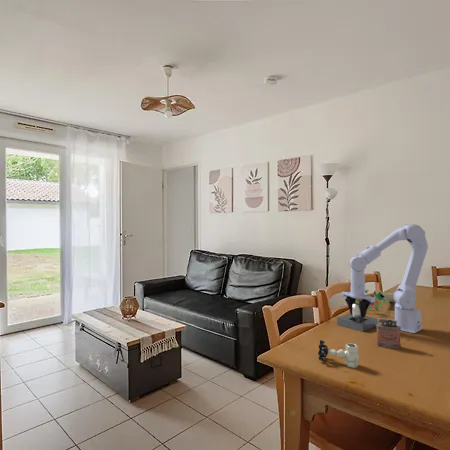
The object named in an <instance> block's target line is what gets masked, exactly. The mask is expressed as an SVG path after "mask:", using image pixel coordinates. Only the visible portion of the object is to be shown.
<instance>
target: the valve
mask: <svg viewBox="0 0 450 450" xmlns="http://www.w3.org/2000/svg"><path fill="white" fill-rule="evenodd" d="M325 343H326V342H325V340H321V339H320V340H319V344H318V349H319V350H318V352H317V355H318V360H319V361H324V360H325V358H326V357H327V356H328V355H329V354H330V355H331V356H334V357H335V356H338V357H339V359H342V360H343V359H345V366H347V367H348V368H353V369H355V368H358V367H359V359H360V355H359V345H357V344H356V343H354V342H353V343H351V342H349V343H345V348H344V349H343V348H339V350H336V349H334V348H333V349H332V348H331V349H329V347H328V345H326V344H325Z"/></svg>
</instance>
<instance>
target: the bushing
mask: <svg viewBox="0 0 450 450" xmlns="http://www.w3.org/2000/svg"><path fill="white" fill-rule="evenodd" d="M352 320H353V321H357V322H361V321H363V317H361V306H360V303H359V302H358V303H352Z"/></svg>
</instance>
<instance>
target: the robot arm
mask: <svg viewBox="0 0 450 450" xmlns="http://www.w3.org/2000/svg"><path fill="white" fill-rule="evenodd" d="M398 241H407V242H408V244H409V245H410V246H411V247H412V248H411V252H410V255H409V259H408V261H407V265H406V268H405V272H404V274H403V278H402V280H401V283H400V284H399V285H398V287H397V289H396V290H395V291H394V292H393V299H394V300H395V301H394V302H395V303H394V320H397V326H400V327H401V329H400V331H401V332H403V331H404V332H406V333H410V334H416V333H418V332H420V331H422V330H423V328H422V327H423V326H422V324H423V323H422V312H421V310H419V309H416V308H415V306H416V305H417V299H416V296H417V291H416V286H417V284H418V280H419V276H420V275H421V272H422V271H421V270H422V268H423V267H422V266H423V265H424V264H423V263H424V261H425V259H426V258H425V257H426V255H427V251H428V249H429V245H428V241H427V238H426V231H425V230H424V229H423V228H422V227H421V226H420V225H418V224H416V223H415V224H409V223H406V224H403V225H401V226H400V227H397V228H396V229H395V230H393V231H392V232H391V233H390V234H388V235H386V237H385V238H383V239H382V240H381V241H380V242H378V243H376V245H372V244H370V245H366V246H365V249H363V250H362V251H361V252H358V253H356V256H353V257H351V258H350V260H349V262H348V265H349V267H350V291H341V297H343V298H344V297H345V298H344V301H345V302H346V305H347V306H348V310H349V312H350V313H351V315H352V303H355V302H356V300H358V301H359V302H358V303H360V306H361V317H365V316H367V315H366V314H367V311H368V308H369V305H370V303H371V302H375V303H376V298H375V297H374V296H371V295H368V294H366V293H365V290H366V288H365V287H366V277H365V276H366V274H365V270H366V268H367V266H368V265H369V264H371V263H372V262H374V261H375V260H377V258H379V257H380V256H381V252H382V251H384V250H386V249H387V248H388V247H390V246H392V245H393V244H396V242H398ZM350 313H349V314H350Z"/></svg>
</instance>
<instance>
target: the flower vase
mask: <svg viewBox="0 0 450 450" xmlns="http://www.w3.org/2000/svg"><path fill="white" fill-rule="evenodd" d="M368 292H369V290H368V289H365V294H368ZM372 293H373V296H372V297H375V300H377V301H378V302H379V303H378V305H375V303H376V301H375V302H371V303H370V305H369V307H368V309H367V311H370V310H372V309H373V307H374V309H375V311H379V308H378V306H379V307H380V308H382V307H383V304H384V305H387V304H388V303H387V302H390V303H393V302H395V300H394V299H393V294H394V292H393V293H391V292H390V293H389V292H388V293H385V292H383V291H382V290H378V291H377V292H376V290H374V291H373V292H372ZM359 301H360V300H359V299H356V302H355V303H359Z"/></svg>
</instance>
